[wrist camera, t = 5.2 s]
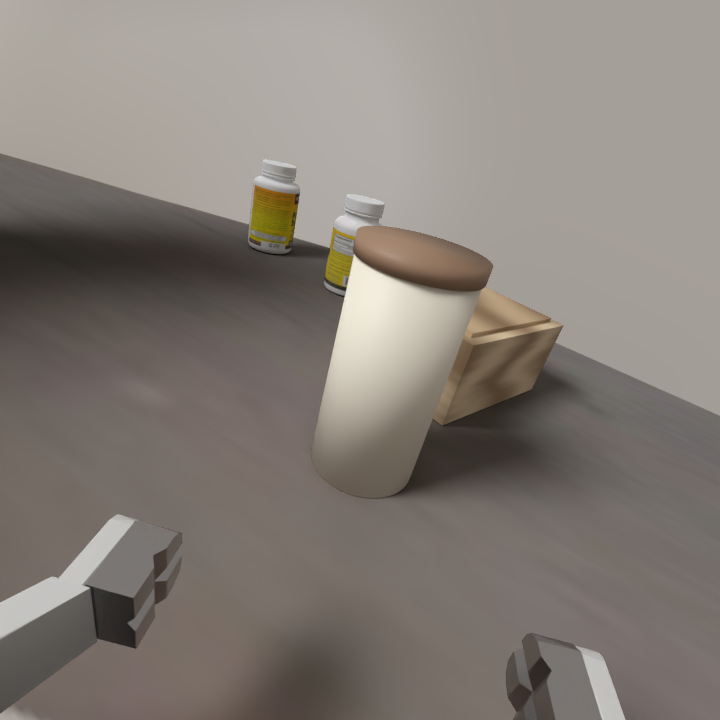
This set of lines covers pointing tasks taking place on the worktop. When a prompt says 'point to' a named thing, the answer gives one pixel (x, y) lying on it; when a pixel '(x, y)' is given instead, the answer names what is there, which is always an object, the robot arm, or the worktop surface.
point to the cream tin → (392, 356)
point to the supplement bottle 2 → (349, 239)
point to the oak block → (496, 356)
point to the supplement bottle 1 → (274, 208)
